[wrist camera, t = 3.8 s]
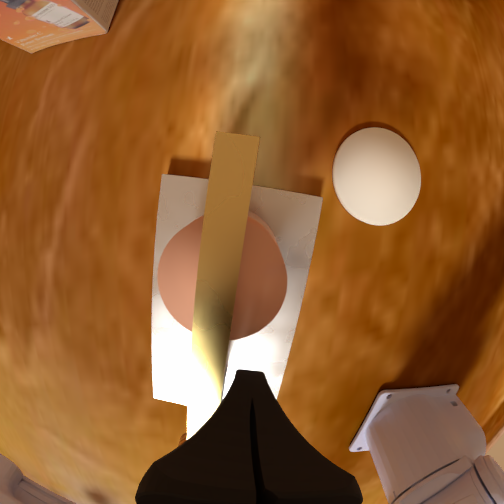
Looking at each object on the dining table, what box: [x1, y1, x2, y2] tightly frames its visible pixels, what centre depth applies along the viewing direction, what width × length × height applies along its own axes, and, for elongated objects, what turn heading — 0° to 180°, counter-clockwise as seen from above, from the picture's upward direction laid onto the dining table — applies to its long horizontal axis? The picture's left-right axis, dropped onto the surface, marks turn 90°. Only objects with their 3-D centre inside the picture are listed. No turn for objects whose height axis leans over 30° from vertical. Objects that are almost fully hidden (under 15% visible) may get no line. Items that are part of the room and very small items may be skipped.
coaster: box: [332, 127, 421, 225], centre depth 16 cm, size 6×6×1 cm
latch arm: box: [179, 131, 260, 446], centre depth 10 cm, size 15×2×2 cm, turn 171°
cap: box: [157, 211, 287, 340], centre depth 12 cm, size 5×5×4 cm
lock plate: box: [152, 174, 323, 405], centre depth 15 cm, size 9×16×7 cm, turn 171°
